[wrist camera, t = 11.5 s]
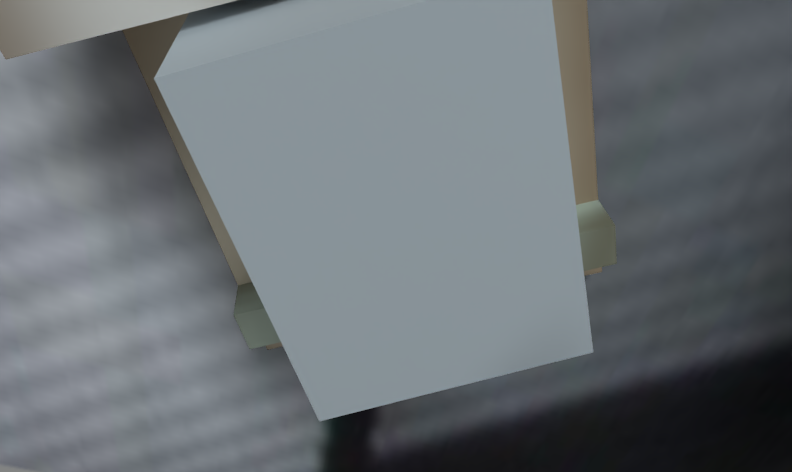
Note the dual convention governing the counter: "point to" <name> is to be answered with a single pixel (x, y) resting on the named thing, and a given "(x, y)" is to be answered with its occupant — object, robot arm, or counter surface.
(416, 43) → the cabinet block
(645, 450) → the counter surface
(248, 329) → the cleat board
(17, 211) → the counter surface
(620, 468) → the counter surface
